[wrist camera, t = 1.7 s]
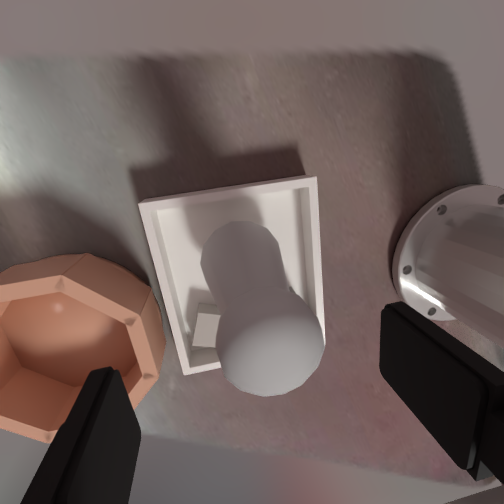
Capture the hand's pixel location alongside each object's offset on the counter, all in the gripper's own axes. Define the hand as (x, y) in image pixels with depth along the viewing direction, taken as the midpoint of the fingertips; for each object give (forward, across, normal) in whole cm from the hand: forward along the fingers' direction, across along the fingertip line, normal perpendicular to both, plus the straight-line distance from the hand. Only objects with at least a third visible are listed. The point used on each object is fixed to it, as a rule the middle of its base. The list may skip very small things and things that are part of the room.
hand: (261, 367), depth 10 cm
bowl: (+14, +12, +4) cm, 19 cm away
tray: (+13, -1, +2) cm, 14 cm away
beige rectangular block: (+13, +2, +6) cm, 15 cm away
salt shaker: (+13, -1, 0) cm, 13 cm away
